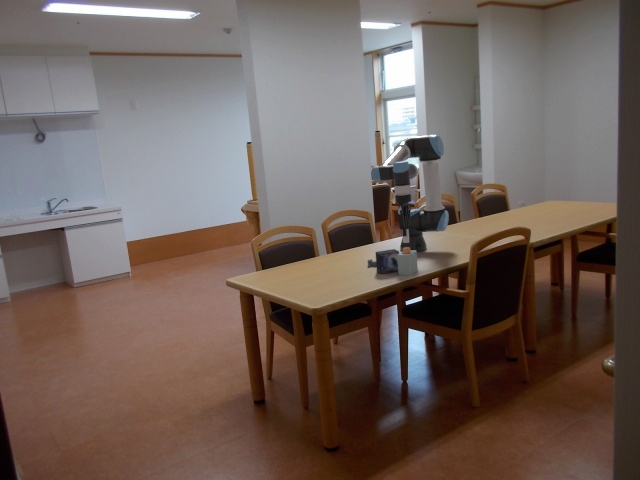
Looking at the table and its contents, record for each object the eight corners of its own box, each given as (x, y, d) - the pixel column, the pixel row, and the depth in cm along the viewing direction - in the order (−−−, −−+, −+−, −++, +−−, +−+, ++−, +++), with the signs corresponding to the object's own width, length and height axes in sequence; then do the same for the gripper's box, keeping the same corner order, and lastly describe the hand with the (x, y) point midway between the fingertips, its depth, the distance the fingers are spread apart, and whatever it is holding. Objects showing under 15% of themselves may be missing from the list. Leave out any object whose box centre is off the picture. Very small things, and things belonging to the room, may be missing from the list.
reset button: (405, 257, 268) (404, 247, 267) (412, 257, 266) (411, 247, 266) (402, 258, 265) (401, 248, 264) (409, 258, 263) (408, 248, 263)
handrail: (370, 265, 290) (369, 259, 289) (410, 266, 278) (410, 260, 277) (368, 266, 288) (367, 260, 287) (409, 267, 276) (408, 261, 275)
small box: (381, 274, 268) (379, 254, 266) (376, 272, 274) (374, 251, 273) (400, 271, 271) (399, 250, 269) (395, 268, 277) (394, 248, 275)
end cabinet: (406, 269, 273) (405, 250, 271) (417, 270, 270) (416, 250, 268) (398, 274, 265) (397, 254, 263) (410, 275, 261) (408, 255, 260)
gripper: (400, 192, 268) (403, 239, 272) (390, 196, 257) (393, 245, 261) (415, 192, 264) (418, 239, 268) (405, 195, 253) (408, 245, 257)
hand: (406, 242), depth 264 cm, fingers closed
